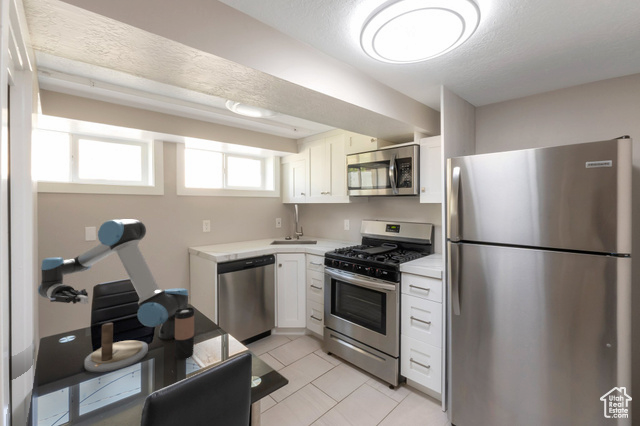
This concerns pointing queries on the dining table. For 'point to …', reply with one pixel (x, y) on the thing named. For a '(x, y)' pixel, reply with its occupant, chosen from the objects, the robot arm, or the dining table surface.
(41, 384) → the dining table surface
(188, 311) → the travel mug
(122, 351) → the dial
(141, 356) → the base
